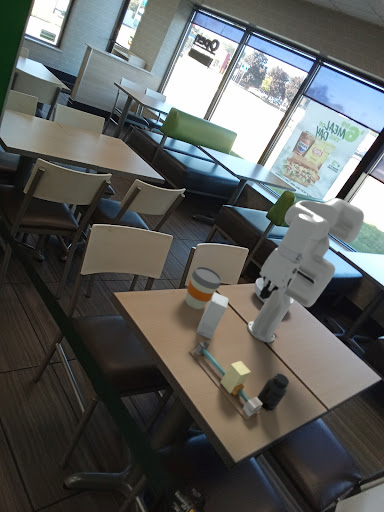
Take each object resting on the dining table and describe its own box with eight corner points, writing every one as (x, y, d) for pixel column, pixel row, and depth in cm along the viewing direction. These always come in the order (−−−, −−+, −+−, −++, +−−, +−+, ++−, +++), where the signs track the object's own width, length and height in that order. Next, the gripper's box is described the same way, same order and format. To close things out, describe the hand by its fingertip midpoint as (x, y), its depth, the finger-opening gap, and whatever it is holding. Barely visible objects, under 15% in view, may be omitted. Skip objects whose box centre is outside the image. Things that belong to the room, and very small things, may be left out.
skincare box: (210, 340, 149) (227, 308, 142) (194, 332, 149) (211, 301, 142) (213, 328, 156) (229, 298, 150) (198, 321, 157) (214, 290, 150)
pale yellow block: (229, 378, 133) (240, 360, 129) (239, 389, 130) (250, 371, 126) (220, 382, 129) (230, 364, 126) (229, 393, 126) (241, 375, 123)
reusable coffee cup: (199, 315, 160) (213, 286, 154) (175, 298, 164) (189, 269, 158) (212, 306, 171) (227, 279, 165) (190, 290, 175) (203, 263, 169)
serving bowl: (272, 317, 184) (279, 306, 181) (242, 290, 196) (248, 279, 193) (294, 310, 199) (301, 300, 196) (265, 286, 211) (271, 276, 208)
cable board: (204, 348, 143) (209, 338, 141) (260, 412, 126) (267, 402, 124) (189, 352, 137) (194, 342, 136) (245, 420, 120) (252, 410, 118)
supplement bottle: (254, 393, 133) (270, 368, 128) (271, 397, 134) (288, 373, 129) (258, 409, 127) (276, 384, 122) (277, 413, 128) (294, 389, 123)
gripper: (313, 265, 119) (285, 310, 127) (279, 238, 128) (255, 282, 136) (300, 266, 114) (272, 313, 122) (265, 239, 123) (241, 284, 131)
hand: (263, 297), depth 129 cm, fingers closed
